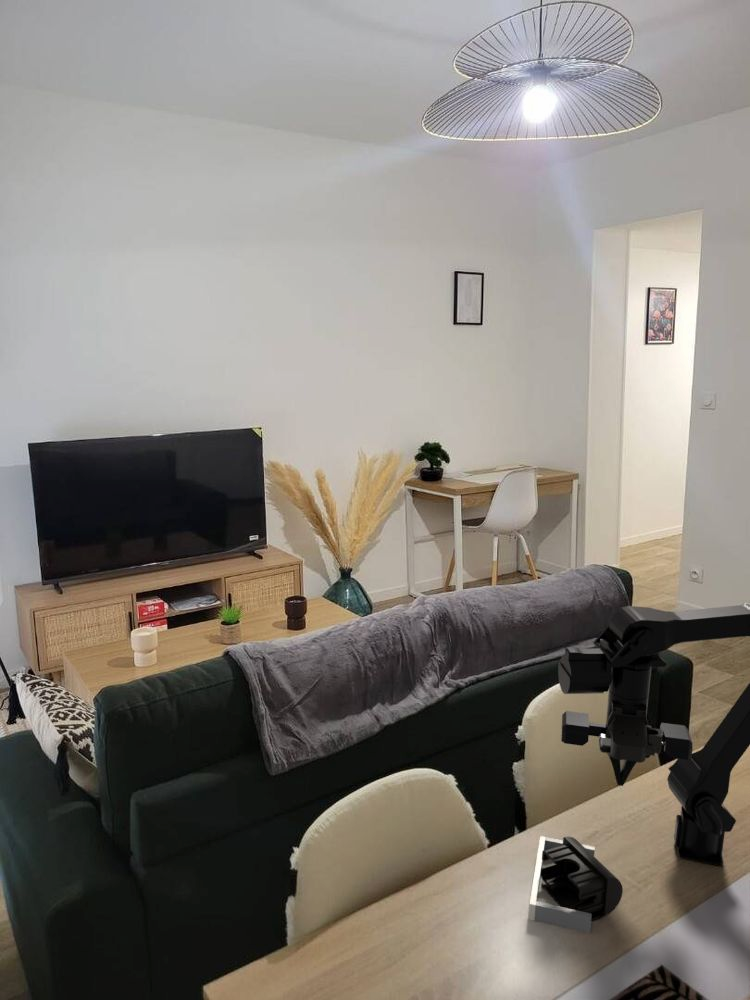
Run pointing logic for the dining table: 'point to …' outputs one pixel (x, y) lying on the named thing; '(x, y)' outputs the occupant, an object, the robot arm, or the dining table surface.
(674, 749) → the robot arm
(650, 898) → the dining table surface
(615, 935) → the dining table surface
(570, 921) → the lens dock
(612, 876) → the end cap
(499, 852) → the dining table surface
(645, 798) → the dining table surface
